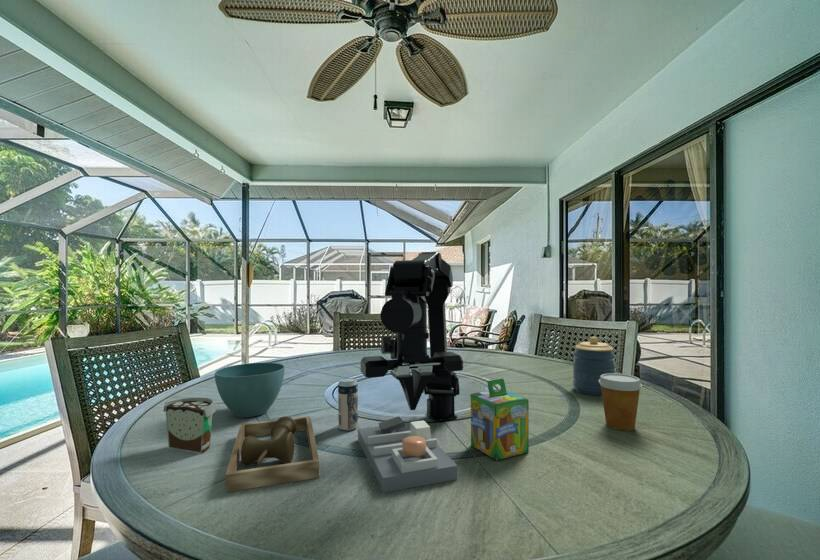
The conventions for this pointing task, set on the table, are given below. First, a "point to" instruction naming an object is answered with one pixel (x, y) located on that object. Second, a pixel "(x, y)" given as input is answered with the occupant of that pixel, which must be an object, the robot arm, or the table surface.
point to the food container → (189, 423)
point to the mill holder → (270, 473)
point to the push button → (414, 446)
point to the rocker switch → (391, 424)
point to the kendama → (271, 444)
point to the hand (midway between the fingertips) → (412, 409)
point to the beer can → (348, 404)
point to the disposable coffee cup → (620, 400)
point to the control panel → (404, 460)
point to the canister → (592, 365)
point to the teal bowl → (249, 387)
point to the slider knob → (420, 429)
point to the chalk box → (499, 422)
